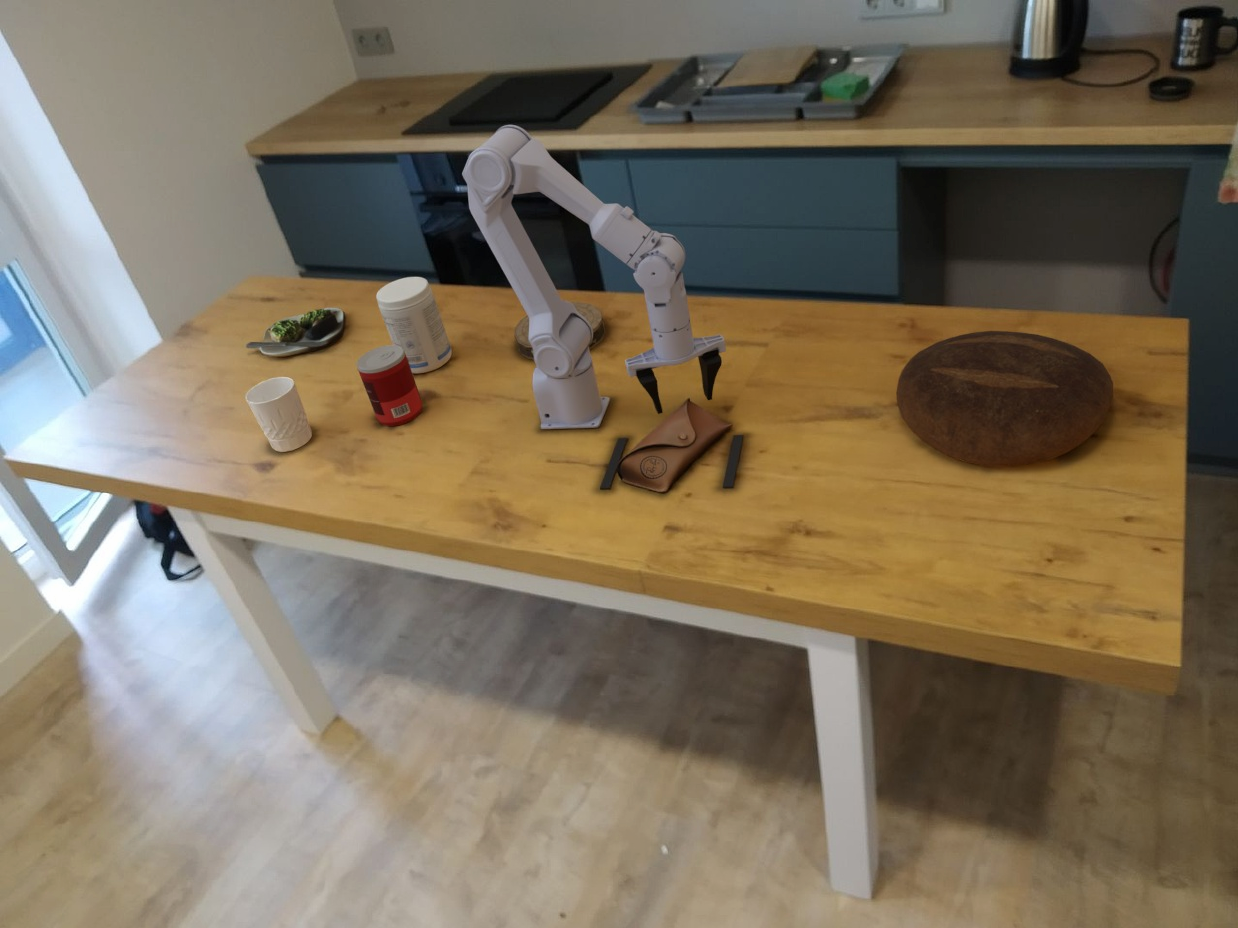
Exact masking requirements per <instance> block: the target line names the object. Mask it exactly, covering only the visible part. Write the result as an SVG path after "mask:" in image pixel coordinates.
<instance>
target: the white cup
mask: <svg viewBox="0 0 1238 928" xmlns="http://www.w3.org/2000/svg"><path fill="white" fill-rule="evenodd" d="M244 398H245V401H246V403H247V405H248V407H249V408H250V410H251V412H252V414H253V416H254V418H255V420H256V422H257V424H258V425H259V427H260V428H261V430H262V433H263V435H264V436H265V437H266V438H267V441H268V443H269V444H270V446H271V449H273V450H274V451H276V452H280V453H286V452H292V451H294V450H297V449H299V448H302V447H303V446H305V445H306V444H307V443H309V441H310V440H311V439H312V437H313V431H312V428H311V425H310V423H309V420H308V416H307V413H306V410H305V407H304V405H303V402H302V399H301V397H300V394H299V391H298V389H297V386H296V383H295V380H294V379H293V378H291V377H288V376H276V377H273V378H268V379H265V380H263V381H261V382H259V383H257V384H256V385H254V386H253V387H251V388H250V389H249V390H248V391H247V392H246V393H245V397H244Z"/></svg>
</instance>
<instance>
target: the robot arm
mask: <svg viewBox="0 0 1238 928" xmlns="http://www.w3.org/2000/svg"><path fill="white" fill-rule="evenodd" d="M461 175H462V178H463V180H464V181H465V183H466V185H467V198H468V209H469V211H470V214H471V215H472V217H473V219H474V221H475V223H476V225H477V226H478V228H479V230H480V232H481V234H482V236H483V237H484V239H485V241H486V243H487V245H488V247H489V248H490V250H491V252H492V254H493V255H494V257H495V259H496V261H497V263H498V264H499V266H500V268H501V270H502V271H503V274H504V275H505V277H506V279H507V281H508V282H509V284H510V287H511V288H512V290H513V292H514V293H515V295H516V297H517V299H518V301H519V302H520V304H521V307H522V308H523V309H524V310H523V311H524V312H525V313H526V316H527V315H528V317H529V342H530V344H531V345H532V348H533V352H534V360H533V361H534V363H535V365H536V366H535V368H534V370H533V374H532V393H533V396H534V400H535V404H536V408H537V411H538V415H539V418H540V422H541V424H540V429H541V430H558V429H591V428H592V429H595V428H599V427H600V426H601V423H602V421H603V419H604V416H605V414H606V411H607V409H608V407H609V404H610V402H611V398H610V397H609V396H601V394H600V388H599V385H598V380H597V376H596V371H595V367H594V362H593V359H592V355H591V351H590V350H589V346H588V345H589V344H590V343H591V341H592V339H593V329H592V327H591V325H590V323H589V322H588V321H587V319H585V318H584V317H583V316H582V315H581V314H580V313H579V312H578V311H577V310H576V308H575V306H574V304H573V303H571V301H567V300H564V299H562V298H561V296H560V294H559V291H558V290H557V288H556V287H555V284H554V282H553V280H552V278H551V276H550V275H549V273H548V271H547V270H546V267H545V266H544V264H543V262H542V260H541V258H540V255H539V254H538V252H537V250H536V249H535V247H534V245H533V242H532V241H531V238H530V237H529V235H528V233H527V232H526V230H525V228H524V226H523V223H522V221H521V220H520V218H519V217H518V215H517V212H516V211H515V208H514V207H513V205H512V201H513V198H514V195H521V194H529V193H538V192H539V193H541V194H542V195H544V196H545V197H547V198H548V199H550V200H552V201H553V202H554V203H556V204H557V205H559V206H561V207H562V208H564V209H565V210H566V211H568V212H569V213H571V214H572V215H574V216H575V217H576V218H578V219H580V220H581V221H583V222H584V223H586V224H587V225H588V227H589V230H590V235H591V238H592V240H594V241H595V242H597V243H598V244H599V245H600V246H601V247H603V248H604V249H605V250H607V251H608V252H609V253H611V254H612V255H613V256H615V257H616V258H617V259H618V260H620V261H621V262H623V263H624V265H626V266H628V267H629V268H631V269H632V270H633V271H634V272H633V274H632V275H633V278H634V280H635V282H636V283H637V285H638V286H639V287H640V288H642V290H643V293H644V300H645V306H646V311H647V316H648V322H649V327H650V333H651V339H652V344H653V347H652V348H650V349H648V350H646V351H644V352H642V353H639V354H637V355H635V356H632V357H630V358H626V359H624V363H625V364H624V365H625V369H626V372H627V375H628V376H629V378H633V377H636V378H637V380H638V382H639V383H640V385H641V386H642V388H644V390H645V391H646V392H647V394H648V396H649V397H650V399H651V400H652V403H653V407H654V410H655V412H656V413H657V414H658V415H661V414H663V413H664V411H663V407H662V402H661V399H660V393H659V386H658V384H659V383H658V380H657V378H656V376H655V372H654V369H657V368H661V367H670V366H678V365H682V364H685V363H688V362H690V361H692V360H693V359H696V358H698V363H699V367H700V373H701V383H702V390H703V391H702V392H703V395H704V396H705V398H706V400H707V401H713V393H714V388H715V381H716V378H717V375H718V373H719V371H720V369H721V367H722V363H723V362H722V361H723V360H722V357H721V354H722V353H726V352H727V346H726V340H725V338H724V337H723V335H722V334H715V335H710V336H709V335H708V336H699V337H694V335H693V330H692V329H693V328H692V321H691V316H690V309H689V303H688V296H687V291H686V287H685V281H684V274H683V272H682V271H681V270H682V269H683V267H684V264H685V261H686V249H685V247H684V245H683V244H682V243H681V242H680V240H678V239H677V237H676V236H675V235H674V234H671V233H665V232H662V233H661V232H659V231H657V230H653V229H652V228H650V227H649V226H648V225H646V224H645V223H644V222H643V221H641V220H640V219H639V218H638V217H636V216H635V215H633V214H634V213H635V211H634V210H633V209H632V208H630V207H629V206H625V207H623V206H622V205H621V204H620V203H618V202H617V203H616V202H615V203H604V202H603V201H602V200H600V199H599V198H598V197H597V196H596V195H595V194H594V193H593V192H591V191H590V190H589V189H588V188H587V187H586V186H585V185H583V184H582V183H581V182H580V181H579V180H578V179H576V178H575V177H574V176H573V175H572V174H571V173H570V172H569V171H568V170H566V169H565V168H564V167H563V166H562V165H561V164H560V163H558V162H557V160H555V159H554V158H553V157H552V156H551V155H550V153H549V152H548V150H547V149H546V147H545V146H544V144H543V142H542V141H540V140H539V139H537V138H535V137H532V136H531V134H529V132H528V131H527V130H526V129H524V128H523V127H521V126H519V125H515V124H505V125H503V126H500V127H499V128H498V129H497V130H496V131H495V132H494V133H493V135H491V136H490V138H488V139H487V140H486V141H485V142H483V144H481V145H480V146H479V147H477V148H476V149H474V150H473V151H472V152H471V153H470V154H469V155H468V157H467V160H466V163H465V165H464V168H463V170H462V173H461Z"/></svg>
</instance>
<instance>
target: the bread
mask: <svg viewBox="0 0 1238 928" xmlns="http://www.w3.org/2000/svg"><path fill="white" fill-rule="evenodd" d="M897 382H898V383H897V385H896V386H897V387H896V403H897V407H898V409H899V412H900V415H901V417H902V419H903V421H904V422H905V424H906V425H907V427H908V428H909V430H911V432H912V433H913V434H914V435H915V436H917V437H918V438H919V439H920V440H922V442H924V443H925V444H928V445H929V446H931V447H932V448H934V449H936V450H937V451H939V452H941V453H943V454H945V455H947V456H949V457H951V458H955V459H957V460H960V461H963V462H966V463H970V464H975V465H976V464H977V465H982V466H987V467H998V466H999V467H1008V466H1009V467H1011V466H1020V465H1027V464H1028V465H1029V464H1034V463H1041V462H1046V461H1049V460H1052V459H1055V458H1058V457H1060V456H1063V455H1065V454H1067V453H1069V452H1071V451H1072V450H1073V449H1075V448H1076V447H1078V446H1080V445H1081V444H1083V443H1084V442H1085V441H1087V440H1088V439H1089V438H1090V437H1092V435H1093V434H1094V433H1095V432H1097V430H1099V428H1100V426H1101V425H1102V423H1103V421H1104V419H1105V418H1106V416H1107V414H1108V412H1109V408H1110V406H1111V404H1112V401H1113V398H1114V382H1113V379H1112V376H1111V374H1110V372H1109V371H1108V370H1107V368H1106V366H1105V364H1104V363H1103V362H1101V361H1100V360H1099V359H1098V358H1097V357H1095V356H1094V355H1092V354H1091V353H1089V352H1088V351H1085V350H1084V349H1081V348H1079V347H1078V346H1076V345H1074V344H1071V343H1068V342H1065V341H1061V340H1059V339H1056V338H1053V337H1049V336H1044V335H1042V334H1041V335H1040V334H1037V333H1028V332H1019V331H1009V330H1008V331H1007V330H1006V331H1005V330H986V331H974V332H969V333H964V334H959V335H955V336H952V337H948V338H945V339H943V340H940V341H937V342H935V343H933V344H931V345H929V346H927V347H925V348H923V349H922V350H920V351H918V352H917V353H916V354H914V355H913V356H912V357H911V358H910V359H909V360H908V361H907V363H906V364H905V366H904V367H903V368H902V370H901V372H900V375H899V376H898V381H897Z"/></svg>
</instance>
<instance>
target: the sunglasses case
mask: <svg viewBox="0 0 1238 928" xmlns="http://www.w3.org/2000/svg"><path fill="white" fill-rule="evenodd" d="M732 426H733V424H732V423H729V422H725V421H724V420H722V419H721V418H719V417H717V416H716V415H714V414H713V413H711V412H710V411H708V410H707V409H704V407H701V406H700V405H698V404H697V403H695V402H693V401H692V400H691V398H690V397H688V398H687V399H686V400H685V401H684V402H683V403H682V404H681V405H680V406H679V407H678V408H676V409H675V410H674V411H672V412H671V413H670V414H669V415H668V416H667V417H665V418H664V419H663V420H662V421H661V422H659V424H658V425H657V426H655V427H654V428H653V429H652V430H650V432H649V433H648V434H646V435H645V436H644V437H643V438H642V439H641V440H640V441H639V442H638V443H637V444H636V445H635V446H634V447H633V448H632V449H631V450H630V451H629V452H627V453H626V454H625V455H623V457H621V459H620V461H619V463H618V465H617V470H616V474H617V476H618V478H619V479H620V480H621V481H622V482H623V483H624V484H628V485H630V486H633V487H636V488H639V489H643V490H646V491H651V492H656V493H667V491H669V490H670V489H671V487H672V486H673V484H674V483H675V482H676V480H677V479H678V478H679V477H680V476H681V475H682V474H683V473H684V472H685V471H686V470H687V469H688V468H689V467H690V466H691V465H692V464H693V463H694V462H695V461H696V460H697V459H698V458H699V457H700V456H701V455H702V454H703V453H705V452H706V451H707V450H708V449H709V448H711V446H712V445H713V444H714V443H715V442H717V441H718V440H719V439H720V438H721V437H722V436H724V434H725V433H726V432H727V431H728V430H729V429H730V428H732Z"/></svg>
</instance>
